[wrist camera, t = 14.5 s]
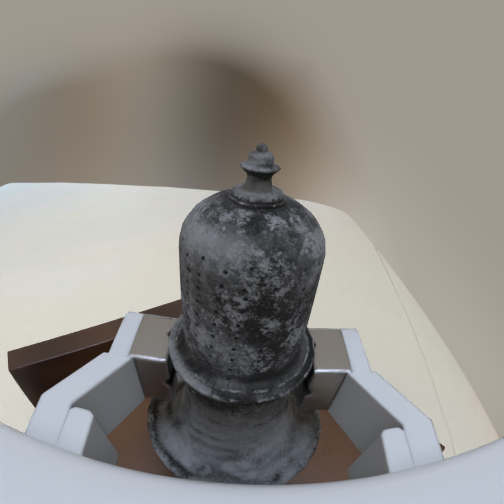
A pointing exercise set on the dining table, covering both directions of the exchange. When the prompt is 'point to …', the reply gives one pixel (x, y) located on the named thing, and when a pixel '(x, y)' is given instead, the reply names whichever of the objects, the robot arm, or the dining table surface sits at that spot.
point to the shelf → (135, 424)
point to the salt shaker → (242, 337)
